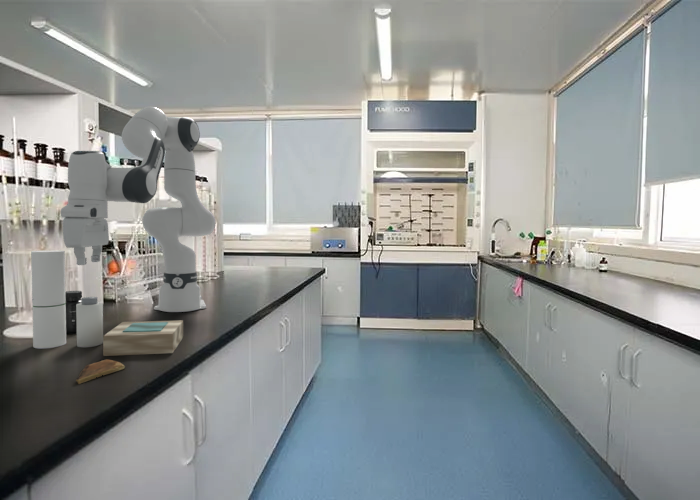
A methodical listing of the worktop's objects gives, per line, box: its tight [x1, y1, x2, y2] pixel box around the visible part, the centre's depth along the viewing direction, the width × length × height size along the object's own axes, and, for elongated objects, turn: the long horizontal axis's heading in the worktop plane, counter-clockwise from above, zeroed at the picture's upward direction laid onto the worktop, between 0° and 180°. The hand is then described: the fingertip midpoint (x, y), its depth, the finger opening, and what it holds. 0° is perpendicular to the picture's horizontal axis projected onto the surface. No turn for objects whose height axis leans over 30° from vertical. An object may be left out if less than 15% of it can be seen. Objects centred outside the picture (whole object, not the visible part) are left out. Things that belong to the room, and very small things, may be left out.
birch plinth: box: [102, 319, 184, 357], centre depth 111 cm, size 15×16×5 cm
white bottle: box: [76, 296, 104, 348], centre depth 111 cm, size 6×6×13 cm
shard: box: [75, 358, 126, 385], centre depth 90 cm, size 11×8×2 cm
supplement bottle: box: [65, 290, 83, 335], centre depth 123 cm, size 7×7×12 cm
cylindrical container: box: [30, 249, 67, 350], centre depth 109 cm, size 7×7×25 cm
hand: (89, 263), depth 110 cm, fingers open, 8 cm apart
